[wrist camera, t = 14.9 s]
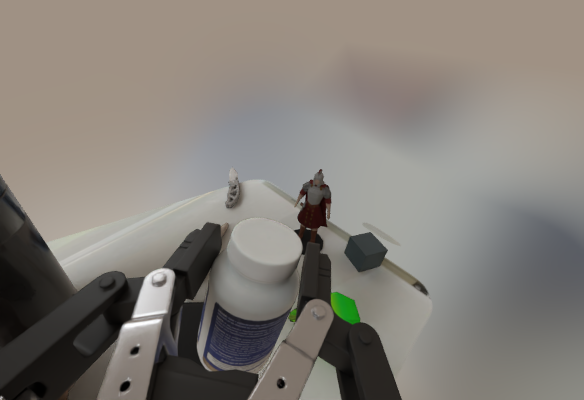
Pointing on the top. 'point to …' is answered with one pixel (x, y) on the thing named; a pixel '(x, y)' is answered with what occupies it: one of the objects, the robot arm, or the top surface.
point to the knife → (235, 186)
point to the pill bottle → (249, 296)
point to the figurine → (313, 210)
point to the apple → (339, 308)
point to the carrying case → (190, 331)
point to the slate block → (365, 251)
